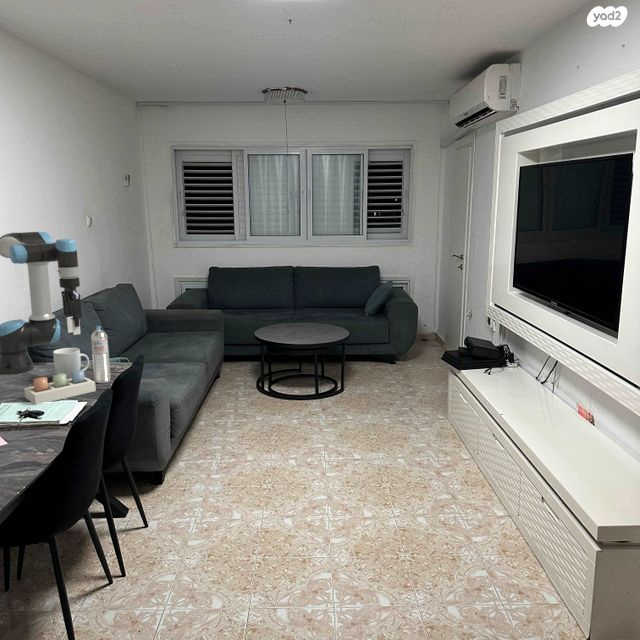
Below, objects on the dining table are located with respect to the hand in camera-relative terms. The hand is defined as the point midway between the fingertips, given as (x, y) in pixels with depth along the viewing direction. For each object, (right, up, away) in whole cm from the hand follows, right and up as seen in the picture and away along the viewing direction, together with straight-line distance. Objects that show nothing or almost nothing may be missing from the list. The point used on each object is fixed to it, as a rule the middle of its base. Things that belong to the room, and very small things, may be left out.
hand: (74, 333), depth 239 cm
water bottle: (+5, -22, +17) cm, 28 cm away
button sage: (-5, -22, -1) cm, 23 cm away
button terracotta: (-11, -23, -6) cm, 26 cm away
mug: (-11, -21, +22) cm, 32 cm away
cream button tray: (-5, -25, 0) cm, 26 cm away
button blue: (0, -21, +4) cm, 21 cm away
